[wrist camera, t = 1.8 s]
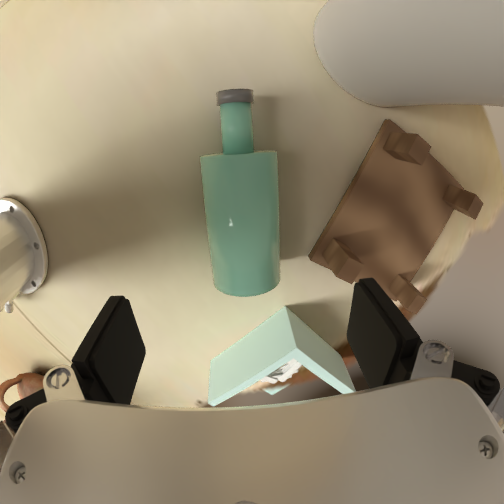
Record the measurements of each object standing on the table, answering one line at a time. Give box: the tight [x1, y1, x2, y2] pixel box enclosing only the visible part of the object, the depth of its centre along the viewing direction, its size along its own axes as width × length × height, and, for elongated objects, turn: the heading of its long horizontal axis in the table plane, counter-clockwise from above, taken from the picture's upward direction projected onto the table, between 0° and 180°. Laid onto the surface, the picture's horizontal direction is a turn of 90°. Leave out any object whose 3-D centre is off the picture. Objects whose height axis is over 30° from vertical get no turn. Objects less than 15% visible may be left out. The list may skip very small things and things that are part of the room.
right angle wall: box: [208, 306, 356, 406], centre depth 31 cm, size 12×12×8 cm
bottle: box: [200, 89, 280, 297], centre depth 22 cm, size 16×6×6 cm, turn 3°
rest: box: [308, 120, 483, 314], centre depth 25 cm, size 16×13×6 cm
